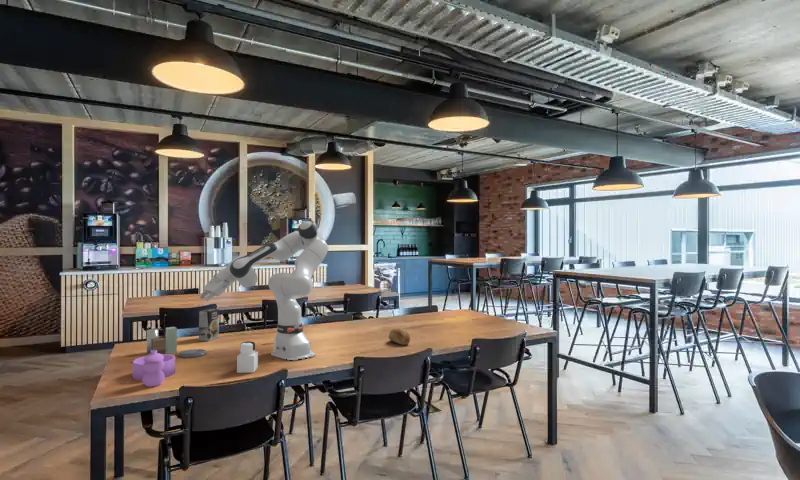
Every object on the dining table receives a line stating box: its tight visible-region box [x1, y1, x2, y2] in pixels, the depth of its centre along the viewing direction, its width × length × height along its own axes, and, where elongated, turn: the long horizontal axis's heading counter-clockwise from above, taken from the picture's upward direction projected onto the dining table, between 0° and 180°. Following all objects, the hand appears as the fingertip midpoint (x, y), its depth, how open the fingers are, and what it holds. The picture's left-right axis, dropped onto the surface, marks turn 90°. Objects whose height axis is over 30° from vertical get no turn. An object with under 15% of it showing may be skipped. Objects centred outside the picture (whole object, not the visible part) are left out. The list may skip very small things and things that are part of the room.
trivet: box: [177, 348, 207, 359], centre depth 210 cm, size 12×12×1 cm
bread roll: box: [388, 327, 411, 346], centre depth 237 cm, size 10×15×8 cm, turn 34°
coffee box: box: [198, 308, 220, 342], centre depth 241 cm, size 9×6×16 cm
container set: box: [131, 350, 176, 388], centre depth 176 cm, size 25×15×13 cm, turn 28°
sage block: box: [165, 326, 178, 355], centre depth 213 cm, size 4×4×12 cm
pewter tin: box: [146, 328, 160, 355], centre depth 212 cm, size 5×5×11 cm
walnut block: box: [151, 337, 167, 354], centre depth 203 cm, size 5×5×9 cm
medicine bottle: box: [236, 340, 259, 374], centre depth 187 cm, size 7×7×12 cm
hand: (203, 299), depth 222 cm, fingers open, 8 cm apart
